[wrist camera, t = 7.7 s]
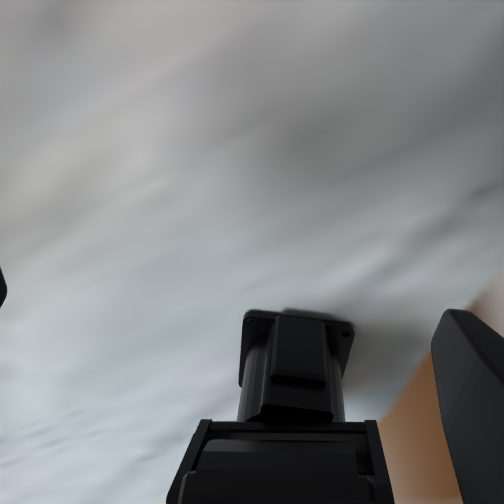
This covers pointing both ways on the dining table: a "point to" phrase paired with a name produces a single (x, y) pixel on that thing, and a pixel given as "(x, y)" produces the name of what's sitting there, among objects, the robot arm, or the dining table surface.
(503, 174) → the dining table surface
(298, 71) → the dining table surface
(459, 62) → the dining table surface
